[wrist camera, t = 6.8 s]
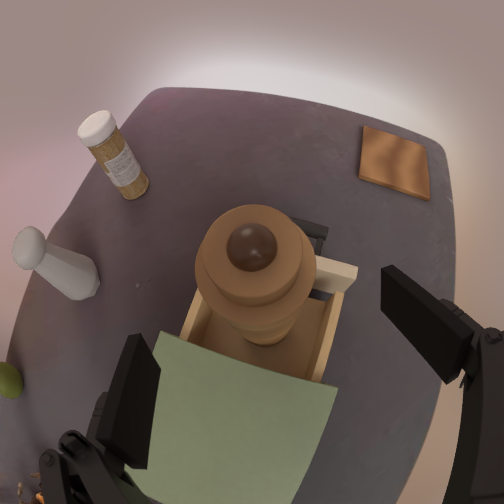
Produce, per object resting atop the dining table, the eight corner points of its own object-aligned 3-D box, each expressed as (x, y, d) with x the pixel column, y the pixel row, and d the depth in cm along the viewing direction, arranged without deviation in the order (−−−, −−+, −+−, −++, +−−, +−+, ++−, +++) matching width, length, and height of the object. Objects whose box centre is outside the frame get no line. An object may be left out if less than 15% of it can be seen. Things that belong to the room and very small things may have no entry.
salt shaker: (81, 259, 32) (19, 213, 20) (110, 266, 31) (46, 217, 20) (68, 299, 30) (-1, 264, 18) (97, 309, 29) (24, 276, 17)
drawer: (236, 219, 32) (229, 190, 26) (350, 249, 29) (365, 224, 24) (177, 377, 25) (154, 380, 20) (303, 419, 23) (311, 434, 17)
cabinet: (187, 339, 27) (160, 330, 20) (321, 381, 25) (338, 387, 18) (147, 457, 22) (114, 477, 15) (272, 502, 19) (271, 537, 12)
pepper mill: (297, 304, 26) (338, 194, 9) (282, 353, 24) (305, 335, 7) (248, 290, 27) (209, 165, 10) (232, 337, 25) (152, 285, 8)
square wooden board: (423, 149, 36) (425, 146, 35) (428, 201, 32) (430, 198, 31) (362, 128, 38) (363, 125, 37) (358, 178, 34) (359, 174, 33)
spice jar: (120, 185, 37) (76, 122, 24) (146, 170, 37) (108, 103, 25) (125, 206, 35) (75, 142, 22) (153, 191, 35) (111, 121, 23)
